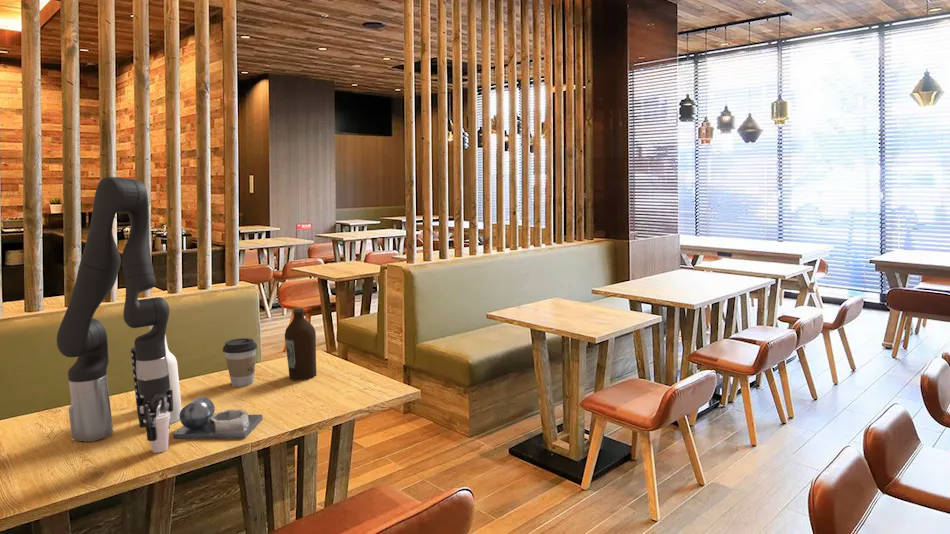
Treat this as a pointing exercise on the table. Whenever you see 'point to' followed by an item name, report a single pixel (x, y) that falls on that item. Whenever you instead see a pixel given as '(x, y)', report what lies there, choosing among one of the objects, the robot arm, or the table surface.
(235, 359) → the coffee cup
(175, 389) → the alcohol
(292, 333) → the olive oil
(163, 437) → the smoothie
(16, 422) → the table surface
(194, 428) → the flat grey tray
